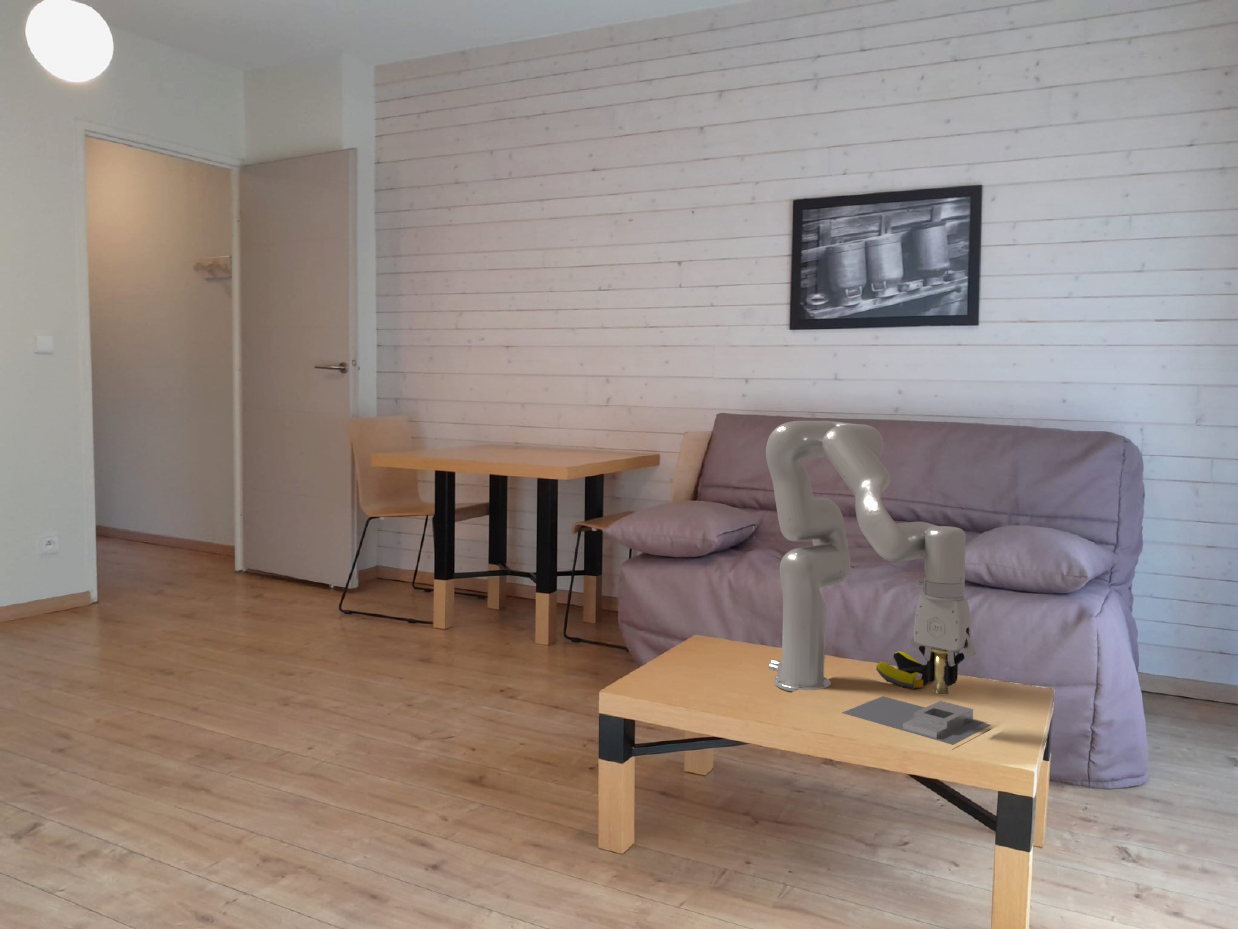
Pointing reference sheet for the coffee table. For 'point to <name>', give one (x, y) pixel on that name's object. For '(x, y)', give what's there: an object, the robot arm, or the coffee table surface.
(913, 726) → the grey slotted housing block
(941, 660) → the pin
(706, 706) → the coffee table surface
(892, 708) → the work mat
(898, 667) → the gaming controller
